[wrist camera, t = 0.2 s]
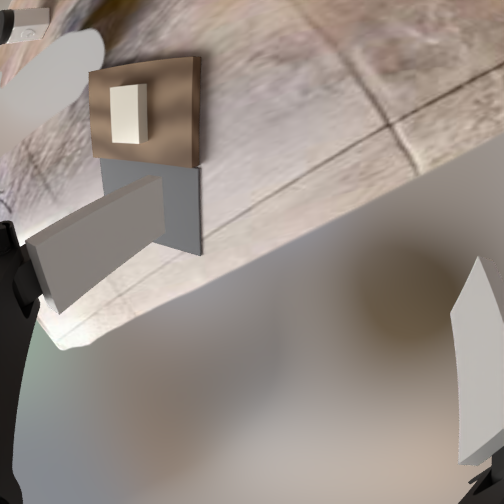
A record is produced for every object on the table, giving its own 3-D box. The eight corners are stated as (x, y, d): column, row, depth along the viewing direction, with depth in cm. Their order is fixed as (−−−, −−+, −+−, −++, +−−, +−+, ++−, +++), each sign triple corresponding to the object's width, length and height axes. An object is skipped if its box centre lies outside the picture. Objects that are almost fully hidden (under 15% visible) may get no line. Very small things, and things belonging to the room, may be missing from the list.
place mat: (101, 157, 51) (99, 157, 51) (199, 168, 44) (197, 168, 44) (110, 228, 59) (109, 229, 58) (201, 254, 52) (200, 256, 52)
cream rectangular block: (119, 86, 40) (110, 87, 39) (146, 83, 38) (137, 84, 37) (121, 139, 45) (112, 142, 43) (147, 141, 43) (139, 143, 41)
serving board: (97, 71, 42) (88, 72, 41) (201, 57, 36) (192, 56, 34) (101, 154, 51) (93, 157, 49) (199, 164, 44) (191, 168, 42)
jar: (38, 47, 44) (-6, 54, 35) (30, 29, 42) (-12, 35, 33) (54, 16, 39) (7, 19, 29) (45, 0, 37) (1, 2, 28)
